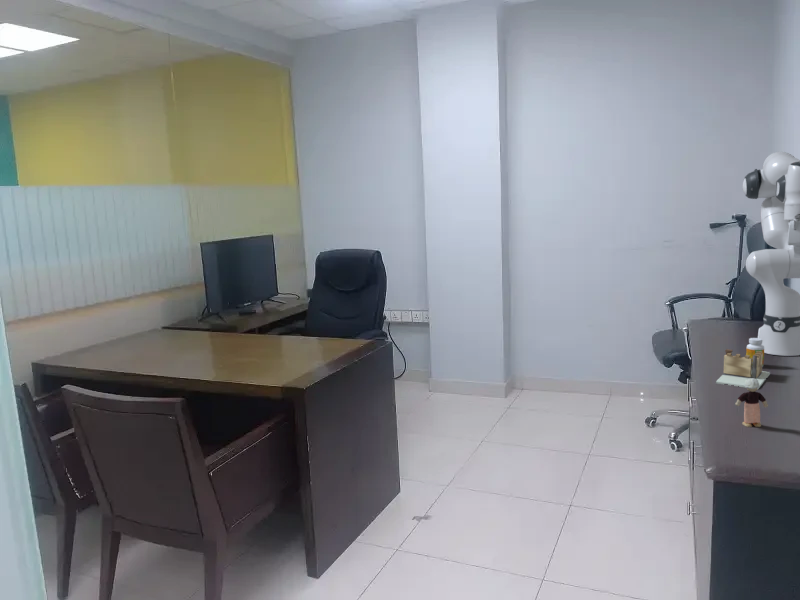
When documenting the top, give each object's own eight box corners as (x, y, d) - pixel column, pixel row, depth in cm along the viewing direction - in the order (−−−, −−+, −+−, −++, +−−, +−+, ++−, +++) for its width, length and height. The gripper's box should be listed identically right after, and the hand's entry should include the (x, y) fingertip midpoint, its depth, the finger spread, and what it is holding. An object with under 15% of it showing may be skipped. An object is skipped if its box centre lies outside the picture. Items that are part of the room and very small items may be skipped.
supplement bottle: (754, 368, 210) (755, 341, 208) (742, 365, 215) (743, 338, 213) (767, 367, 211) (768, 339, 210) (754, 363, 216) (755, 336, 215)
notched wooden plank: (751, 375, 198) (752, 355, 197) (750, 377, 197) (751, 356, 196) (724, 372, 204) (725, 352, 203) (723, 373, 203) (724, 353, 202)
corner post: (725, 372, 205) (726, 349, 204) (731, 372, 204) (732, 349, 203) (724, 373, 204) (725, 350, 203) (730, 374, 203) (731, 350, 202)
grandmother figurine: (759, 421, 162) (762, 375, 160) (768, 426, 158) (771, 379, 156) (731, 423, 162) (733, 377, 160) (739, 428, 158) (742, 381, 156)
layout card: (730, 368, 211) (730, 367, 211) (770, 373, 203) (770, 371, 203) (715, 383, 196) (715, 381, 196) (758, 389, 188) (758, 387, 188)
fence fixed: (756, 371, 205) (757, 350, 203) (761, 372, 204) (762, 350, 202) (750, 378, 197) (751, 356, 196) (756, 378, 196) (757, 356, 195)
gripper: (808, 215, 181) (805, 261, 183) (816, 212, 197) (813, 255, 199) (783, 215, 185) (780, 260, 187) (793, 212, 201) (791, 254, 203)
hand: (797, 257), depth 193 cm, fingers closed
